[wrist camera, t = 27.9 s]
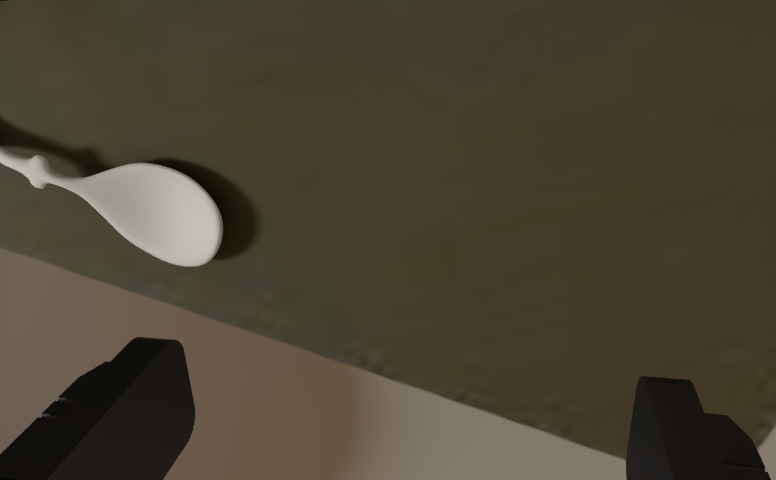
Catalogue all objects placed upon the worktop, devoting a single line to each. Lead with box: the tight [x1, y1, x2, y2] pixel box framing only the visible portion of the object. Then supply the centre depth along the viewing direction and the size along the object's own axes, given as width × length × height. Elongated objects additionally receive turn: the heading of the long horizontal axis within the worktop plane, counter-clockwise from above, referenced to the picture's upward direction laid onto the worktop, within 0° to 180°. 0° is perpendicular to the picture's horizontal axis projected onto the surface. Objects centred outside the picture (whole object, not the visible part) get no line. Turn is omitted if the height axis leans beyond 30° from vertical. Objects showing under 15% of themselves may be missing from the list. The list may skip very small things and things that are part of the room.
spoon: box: [0, 146, 223, 267], centre depth 57 cm, size 9×32×4 cm, turn 70°
